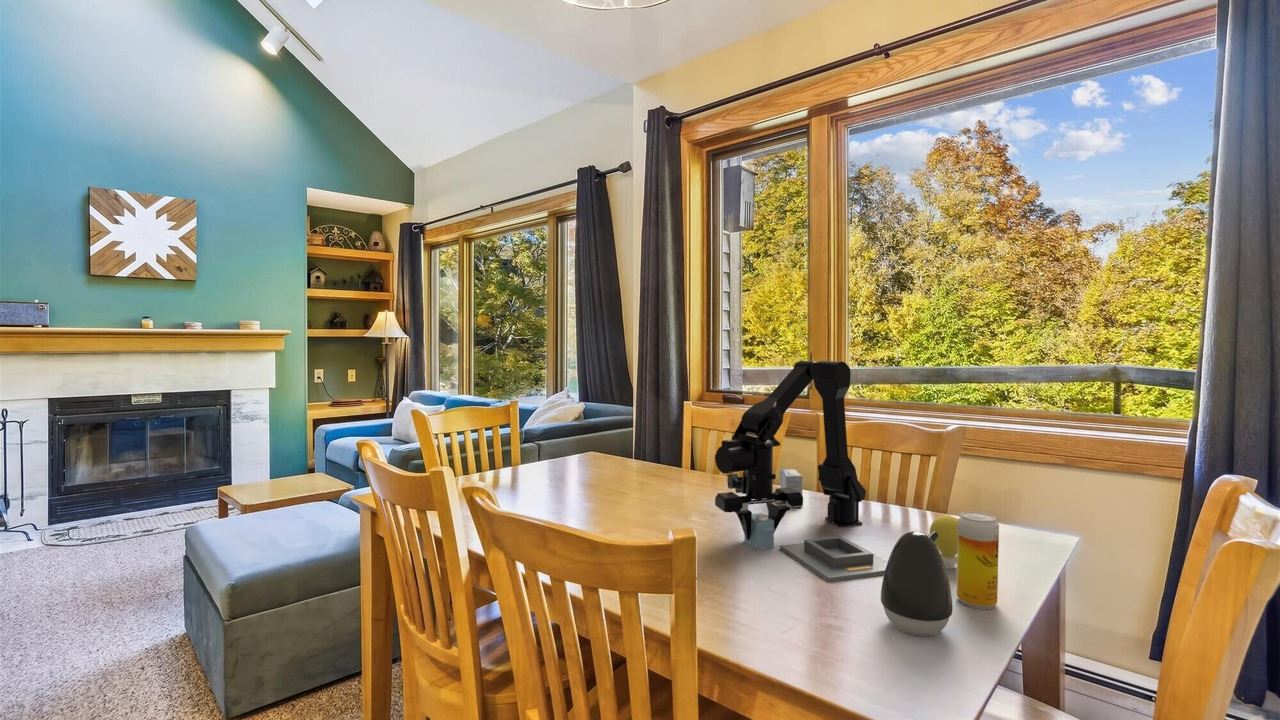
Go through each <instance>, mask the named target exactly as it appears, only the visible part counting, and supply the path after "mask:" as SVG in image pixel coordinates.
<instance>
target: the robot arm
mask: <svg viewBox="0 0 1280 720" xmlns="http://www.w3.org/2000/svg"><path fill="white" fill-rule="evenodd" d="M812 381H813V385H814V388H815V390H816V392H817V393H818V394H819V397H820V398H821V401H822V414H823V415H822V416H823V429H824V430H823V431H824V441H825V442H824V444H825V459H824V460H823V462H822V463H821V464H820V463H819V464H818V466H817V469H818V478H817V479H818V480H817V481H818V482H820V485H821V488H822V492H823V494H824V495H825V496H828V497H829V498H828V503H827V516H825V518H824V519H825V520H826V521H828V522H830V523H832V524H833V525H836V526H837V527H840V528H841V527H852V526H858V525H859V526H860V525H863V521H861V520H859V514H860V513H859V512H860V511H859V509H860V507H859V506H860V504H859V503H861V502H862V501H864V500H865V498H866V495H867V491H866V489H865V488H864V486H863V485H862V484H861V483H860V481H859V480H858V475H857V469H856V467H855V464H853V462H852V461H851V459H850V457H849V453H848V440H847V439H848V438H847V423H846V408H845V396H846V394H847V393H848V391H849V389H850V388H851V368H850V365H848V364H847V363H846V362H845V361H839V360H838V361H837V360H833V361H832V360H819V361H817V362H816V361H814V360H799V361H797V362H795V363H794V366H793V368H792V370H790V372H788V374H787V375H786V376H785V378H783V380H781V382H780V383H779V384H778V385H777V386H776V388H775V389H774V390H773V391H772V392H771V393H770V394H769V395H768V396H767V397H766V398H765V399H764V400H761V401H759V402H758V403H755V404H754V405H752V406H750V408H748V409H747V410H746V411H745V412H744V413H743V414H742V416H741V420H740V421H739V422H740V423H739V424H738V426H737V427H736V430H735V431H734V433H733V435H732V437H731V440H729V439H728V440H727V439H722V440H721V446H720V447H718V449H717V450H716V453H715V455H714V460H715V461H714V462H715V465H716V467H717V469H718V471H720V472H721V473H722V474H726V475H727V480H726V481H727V488H728V489H729V490H732V489H733V490H734V489H735V493H734V492H732V491H731V492H717V495H716V496H715V497H714V506H715V507H717V508H719V510H721V511H723V513H735V514H736V515H737V518H738V520H739V522H740V526H741V528H742V531H743V534H744V538H745V537H746V539H747V540H750V535H751V518H752V514H753V512H752V510H750V509H749V505H759V504H760V505H761V504H765V505H766V506H767V511H768V512H767V516H768V517H769V518H770V519H772V520H774V529H775V531H774V533H775V532H776V530H777V528H778V526H779V525H780V522H781V521H782V519H783V518H784V516H785V514H786V513H787V511H791V508H790V507H788V506H787V503H788V504H789V505H790V506H792V507H793V506H802V505H803V506H804V497H803V493H802V494H801V493H800V492H799V491H797V490H794V489H792V488H790V487H788V488H780V487H779V488H776V489H775V491H774V490H773V487H774V486H773V483H774V481H773V480H776V478H777V477H776V475H777V474H776V473H774V471H773V470H774V468H773V466H774V465H773V464H774V462H773V461H774V457H773V456H774V453H773V452H774V447H779V446H781V443H780V441H778V440H777V439H776V437H775V435H776V434H777V433H778V431H779V429H780V428H781V426H782V425H783V422H784V415H785V412H787V410H788V409H789V408H790V407H791V406H792V404H793V403H794V402H795V401H796V400H797V399H798V397H799V396H800V395H801V394H802V393H803V392H804V390H805V389H806V388H807V387H808V386H809V385H810V384H811V382H812ZM738 472H742V476H739V475H738ZM739 493H740V494H743V495H740V496H739V495H738V494H739ZM824 495H823V496H824Z"/></svg>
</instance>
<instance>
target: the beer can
mask: <svg viewBox="0 0 1280 720" xmlns="http://www.w3.org/2000/svg"><path fill="white" fill-rule="evenodd" d="M957 519H958V547H957V554H956V556H957V563H956V596H957V598H958V599H959V601H960V602H961V604H964V605H965V606H967V607H970V608H972V607H973V608H974V609H978V610H991V609H993V607H994V606H995V605H997V604H998V589H999V588H998V585H999V583H998V582H999V548H1000V547H999V545H1000V544H999V542H1000V539H999V537H1000V524H999V523H998V520H997V517H996V516H994V515H992V514H989V513H985V512H980V511H979V512H978V511H963V512H961V513H960V515H959V517H958V518H957Z"/></svg>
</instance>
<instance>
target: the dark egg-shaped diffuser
mask: <svg viewBox="0 0 1280 720" xmlns="http://www.w3.org/2000/svg"><path fill="white" fill-rule="evenodd" d="M937 538H938V533H937V532H935V531H933V532H932V533H930V532H929V534H928V535H927V534H925V533H924V532H922V531H913V530H912V531H907V532H905V533H904V534H902V535H901V536H900V537H899V538H898V540H897V541H896V543H895V544H894V546H893V548H892V551H891V552H890V555H889V558H888V560H887V561H888V563H887V566H886V569H885V573H884V575H883V577H882V582H881V590H880V603H881V604H882V606H883V610H884V614H885V615H886V617H887V618H888V620H889V621H890V622H891V624H892V625H893V626H895V627H896V628H897V629H898V630H899V631H900V630H901V631H902V632H904V633H906V634H909V635H912V636H918V637H927V636H928V637H929V636H932V635H933V636H934V635H937V634H938V633H940V632H942V631H943V630H944V629H945V627H946V626H947V625H948V623H949V620H950V617H951V616H952V615H953V612H954V611H953V599H952V598H953V597H952V591H951V585H950V580H949V576H948V573H947V570H946V569H947V568H945V565H944V562H943V559H942V557H941V552H940V551H939V549H938V548H937V546H936V545H935V543H934V542H935V540H936V539H937Z"/></svg>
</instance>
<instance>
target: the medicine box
mask: <svg viewBox="0 0 1280 720" xmlns="http://www.w3.org/2000/svg"><path fill="white" fill-rule="evenodd" d="M779 472H780V473H779V483H780V484H779V488H788V487H790V488H792V489H794V490H797V491H799V492H800V493H801V494H802V495H803V475H802V474H801V473H799V472H798V470H796V469H780V470H779ZM787 506H788V507H792V506H790V505H789V504H788V503H787ZM803 506H804V504H803V505H802V506H793V507H802V508H803Z"/></svg>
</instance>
